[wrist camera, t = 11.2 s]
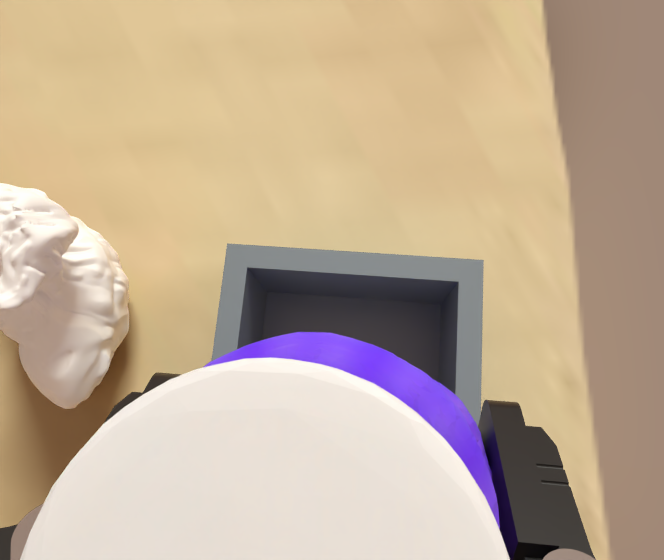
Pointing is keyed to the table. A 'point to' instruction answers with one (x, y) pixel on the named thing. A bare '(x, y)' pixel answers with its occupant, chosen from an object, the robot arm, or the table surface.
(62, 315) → the bust
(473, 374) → the tote
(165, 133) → the table surface
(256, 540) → the bottle
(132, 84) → the table surface
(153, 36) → the table surface
